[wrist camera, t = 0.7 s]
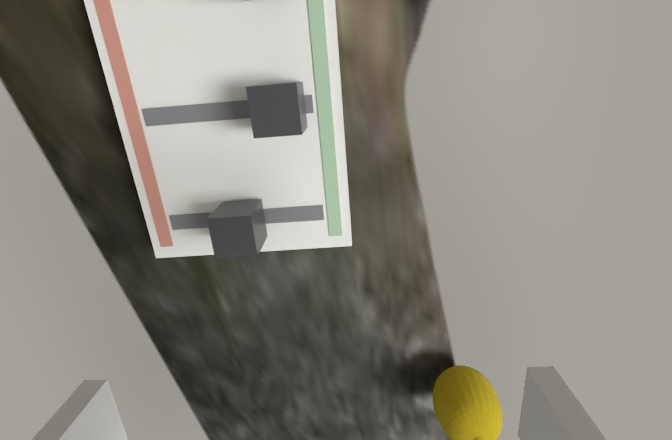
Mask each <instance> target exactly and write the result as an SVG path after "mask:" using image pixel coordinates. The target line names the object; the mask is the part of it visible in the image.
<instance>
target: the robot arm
mask: <svg viewBox="0 0 672 440" xmlns="http://www.w3.org/2000/svg"><path fill="white" fill-rule="evenodd" d="M518 436H519V438H520V440H606V439H605V437H604V436H603V434H602V433H601V432H600V430H599V429H598V428H597V426H596V425H595V423H594V422H593V421H592V419H591V418H590V417H589V415H588V414H587V412H586V411H585V410H584V408H583V407H582V405H581V404H580V403H579V401H578V400H577V399H576V397H575V396H574V394H573V393H572V392H571V390H570V389H569V387H568V386H567V385H566V383H565V382H564V381H563V379H562V378H561V376H560V375H559V374H558V373H557V371H556V370H555V368H554V367H553V366H550V367H527V373H526V380H525V387H524V394H523V402H522V409H521V416H520V423H519V430H518ZM32 440H128V439H127V436H126V433H125V430H124V427H123V425H122V422H121V419H120V416H119V413H118V410H117V407H116V404H115V401H114V398H113V395H112V393H111V389H110V387H109V384H108V381H107V380H84V381H83V383H81V385H80V386H79V387H78V388H77V389H76V390H75V391H74V393H73V394H72V395H71V396H70V397H69V398H68V399H67V400H66V402H65V403H64V404H63V405H62V406H61V407H60V408H59V409H58V411H57V412H56V413H55V414H54V415H53V416H52V418H51V419H50V420H49V421H48V422H47V423H46V424H45V426H44V427H43V428H42V429H41V430H40V431H39V432H38V433H37V434H36V436H35V437H34V438H33V439H32Z"/></svg>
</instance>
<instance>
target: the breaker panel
mask: <svg viewBox="0 0 672 440" xmlns="http://www.w3.org/2000/svg"><path fill="white" fill-rule="evenodd" d="M84 3H85V7H86V10H87V14H88V18H89V21H90V25H91V28H92V32H93V35H94V39H95V42H96V46H97V50H98V53H99V57H100V60H101V64H102V67H103V71H104V74H105V78H106V82H107V85H108V89H109V92H110V96H111V99H112V103H113V107H114V110H115V114H116V117H117V121H118V124H119V128H120V131H121V135H122V139H123V142H124V146H125V149H126V153H127V156H128V160H129V163H130V167H131V171H132V174H133V178H134V181H135V185H136V188H137V192H138V196H139V199H140V203H141V206H142V210H143V213H144V217H145V220H146V224H147V228H148V231H149V235H150V238H151V242H152V245H153V249H154V252H155V256H156V258H166V257H182V256H198V255H214V251H213V246H212V242H211V237H210V233H209V228H208V223H207V218H208V216H209V215H210V214H211V213H212V212H213V211H214V210H215V209H216V208H217V207H218V206H219V205H220V204H221V203H222V202H230V201H244V200H258V199H262V204H263V211H264V217H265V223H266V230H267V238H266V240H265V242H264V244H263V246H262V248H261V250H260V252H263V251H279V250H295V249H311V248H327V247H343V246H352V234H351V220H350V206H349V192H348V178H347V163H346V149H345V135H344V121H343V107H342V92H341V78H340V64H339V50H338V36H337V22H336V7H335V0H84ZM302 81H303V89H304V98H305V108H306V117H307V129H306V130H305V131H304V133H303V134H302V135H292V136H279V137H266V138H254V137H253V131H252V125H251V118H250V112H249V105H248V99H247V93H246V87H248V86H256V85H267V84H279V83H291V82H302Z"/></svg>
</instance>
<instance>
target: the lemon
mask: <svg viewBox="0 0 672 440" xmlns="http://www.w3.org/2000/svg"><path fill="white" fill-rule="evenodd" d="M433 404H434V410H435V413H436V415H437V418H438V420H439V422H440V424H441V426H442V428H443V430H444V431H445V433H446V434H447V435H448V436H449V437H450V438H451V439H452V440H496V439H497V438H498V436H499V434H500V432H501V429H502V424H503V417H502V410H501V405H500V401H499V398H498V396H497V393H496V392H495V390H494V388H493V386H492V385H491V383H490V382H489V381H488V379H487V378H485V377H484V376H483V375H482V374H481V373H480V372H478V371H477V370H475V369H473V368H470V367H466V366H453V367H450V368H448V369H446V370H445V371H443V372H442V373H441V374H440V375H439V376H438V378H437V380H436V382H435V385H434V389H433Z"/></svg>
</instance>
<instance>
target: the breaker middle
mask: <svg viewBox="0 0 672 440" xmlns="http://www.w3.org/2000/svg"><path fill="white" fill-rule="evenodd" d="M246 93H247V99H248V105H249V112H250V118H251V125H252V131H253V137H254V138H266V137H279V136H292V135H302V134H303V133H304V131H305V130H306V129H307V117H306V108H305V98H304V89H303V81H302V82H291V83H279V84H267V85H256V86H248V87H246Z"/></svg>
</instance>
